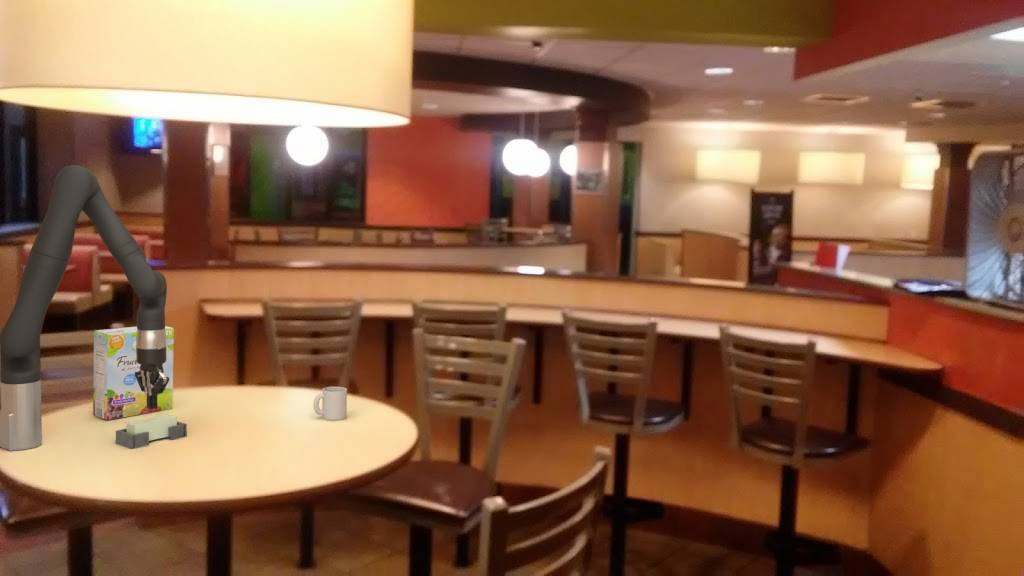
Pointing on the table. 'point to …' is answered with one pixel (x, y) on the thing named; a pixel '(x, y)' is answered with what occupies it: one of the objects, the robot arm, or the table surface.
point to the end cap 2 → (177, 431)
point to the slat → (152, 426)
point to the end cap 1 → (132, 439)
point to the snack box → (125, 375)
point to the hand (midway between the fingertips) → (152, 408)
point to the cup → (332, 403)
